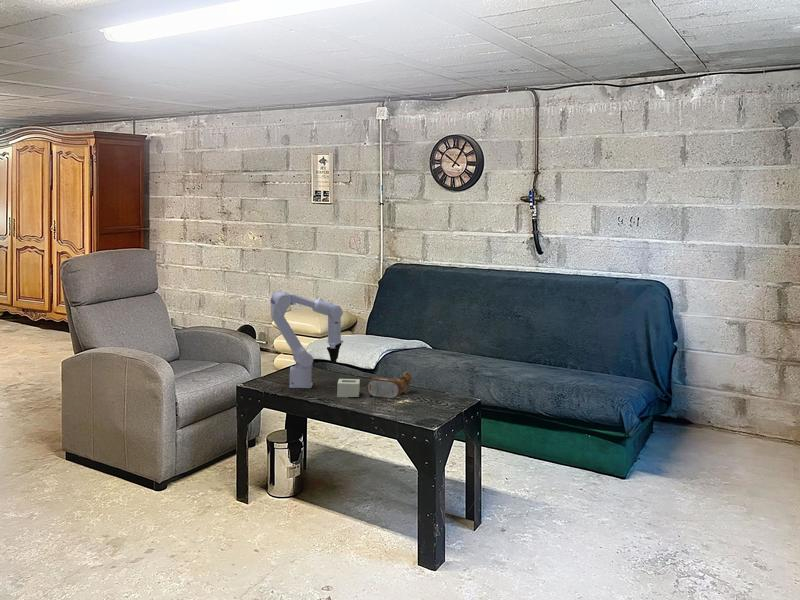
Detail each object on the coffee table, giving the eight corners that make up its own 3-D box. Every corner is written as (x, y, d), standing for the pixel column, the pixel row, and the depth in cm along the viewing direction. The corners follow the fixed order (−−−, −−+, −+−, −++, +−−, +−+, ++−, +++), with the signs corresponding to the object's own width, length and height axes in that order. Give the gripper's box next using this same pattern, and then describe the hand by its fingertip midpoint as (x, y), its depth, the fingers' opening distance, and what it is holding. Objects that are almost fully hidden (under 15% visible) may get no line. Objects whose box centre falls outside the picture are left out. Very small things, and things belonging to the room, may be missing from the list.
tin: (401, 398, 298) (402, 379, 297) (399, 400, 295) (400, 380, 294) (367, 394, 302) (368, 375, 301) (365, 396, 299) (366, 377, 298)
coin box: (337, 397, 296) (337, 383, 296) (338, 392, 304) (338, 378, 304) (358, 397, 297) (358, 383, 296) (359, 392, 304) (359, 379, 304)
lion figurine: (406, 389, 312) (406, 370, 311) (414, 392, 308) (414, 372, 307) (380, 394, 303) (380, 374, 301) (388, 397, 298) (388, 376, 297)
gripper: (341, 334, 309) (341, 364, 310) (344, 328, 323) (344, 357, 325) (325, 334, 309) (325, 364, 311) (329, 328, 323) (329, 357, 325)
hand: (334, 360), depth 318 cm, fingers open, 7 cm apart
